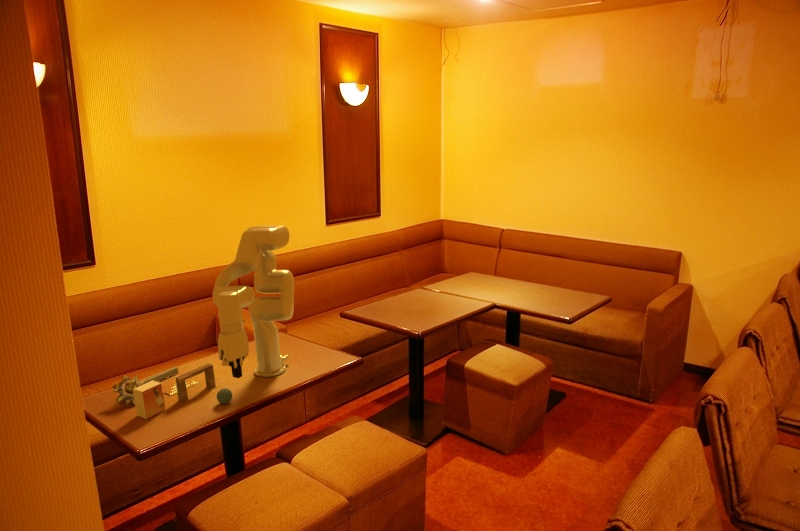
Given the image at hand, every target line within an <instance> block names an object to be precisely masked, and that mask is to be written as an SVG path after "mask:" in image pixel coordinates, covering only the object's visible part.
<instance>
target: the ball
mask: <svg viewBox="0 0 800 531" xmlns="http://www.w3.org/2000/svg"><path fill="white" fill-rule="evenodd" d="M232 398H233V392H232V391H231V390H230V389H229V388H221V389H220V390H219V391H217V393H216V400H217V401H218V403H219V404H222V405H225V404H229V403H230V402H231V401H232Z"/></svg>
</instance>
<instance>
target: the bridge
mask: <svg viewBox="0 0 800 531" xmlns="http://www.w3.org/2000/svg"><path fill="white" fill-rule="evenodd" d="M214 371H215V370H214V364H211V363H208V362H207V363H205V364H203V365H200V366H198V367H196V368H194V369H191V370H189V371H187V372H185V373H182V374H181V375H177V376H178V377H177V376H174V377H175V380H176V387H177V393H176V394H177V397H178V398H177V399H178V401H179V402H182V403H184V402H188V401H189V396H188V390H187V389H188V388H186V381H185V380H187V379H191V378H193V377H195V376H198V375H200V374H204V378H205V384H206V385H205V387H206V388H209V389H211V388H212V389H214V388H215V386H216V380H215V372H214ZM213 387H214V388H213Z"/></svg>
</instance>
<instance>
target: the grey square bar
mask: <svg viewBox="0 0 800 531" xmlns="http://www.w3.org/2000/svg"><path fill="white" fill-rule="evenodd" d="M176 373H178V374H179V368H178V367H177V366H173V367H171V368H169V369H166V370H164V371H161V372H158V373H157V374H154V375H152V376H149V377H148V378H145V379H143V381H144V384H146V383H148V382H150V381H152V380H153V381H156V382H157V381H159V380H162V379H164V378H166V377H168V376H171V375H173V374H176ZM176 375H177V374H176ZM173 376H174V375H173ZM171 377H172V376H171ZM166 379H167V378H166ZM164 380H165V379H164ZM162 381H163V380H162Z"/></svg>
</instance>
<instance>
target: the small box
mask: <svg viewBox="0 0 800 531" xmlns="http://www.w3.org/2000/svg"><path fill="white" fill-rule="evenodd" d="M162 383H163V382H156V381H153V380H152V381H150V382H148V383H146V384H143V385H141V386H139V387H137V388H134V389H133V394H134V400H135V405H134V406H135V412H136V416H137V417H139V418H143V419H145V420H147V419H150V418H151V417H153V416H155V415H157V414H159V413H162V412H164V411H166V404H165V398H164V393H163V389H162Z"/></svg>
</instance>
